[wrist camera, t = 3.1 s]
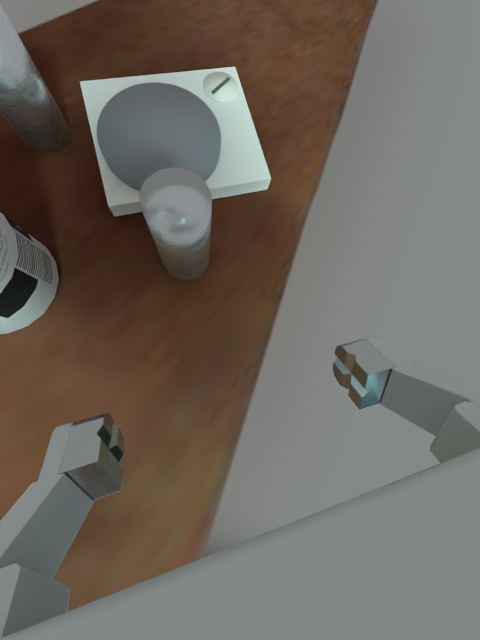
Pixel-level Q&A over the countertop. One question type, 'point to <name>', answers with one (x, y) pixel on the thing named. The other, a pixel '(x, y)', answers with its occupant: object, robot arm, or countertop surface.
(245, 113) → the scale
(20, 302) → the supplement can
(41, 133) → the cylinder
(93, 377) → the countertop surface
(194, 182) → the glossy grey rounded cylinder
